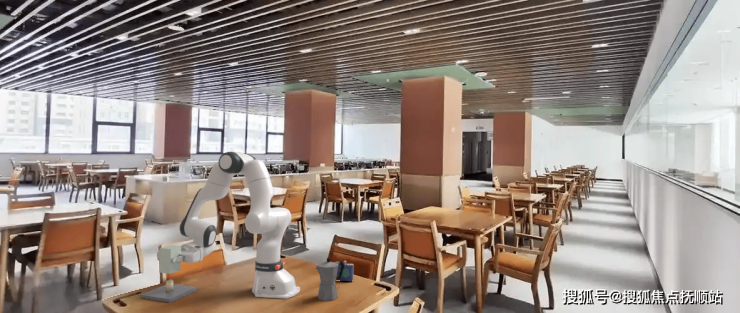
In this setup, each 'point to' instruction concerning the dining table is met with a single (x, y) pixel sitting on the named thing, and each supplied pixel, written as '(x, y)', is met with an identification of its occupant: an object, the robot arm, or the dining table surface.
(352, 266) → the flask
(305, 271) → the dining table surface
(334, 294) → the coffeepot
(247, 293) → the dining table surface
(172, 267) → the cover
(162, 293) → the board
